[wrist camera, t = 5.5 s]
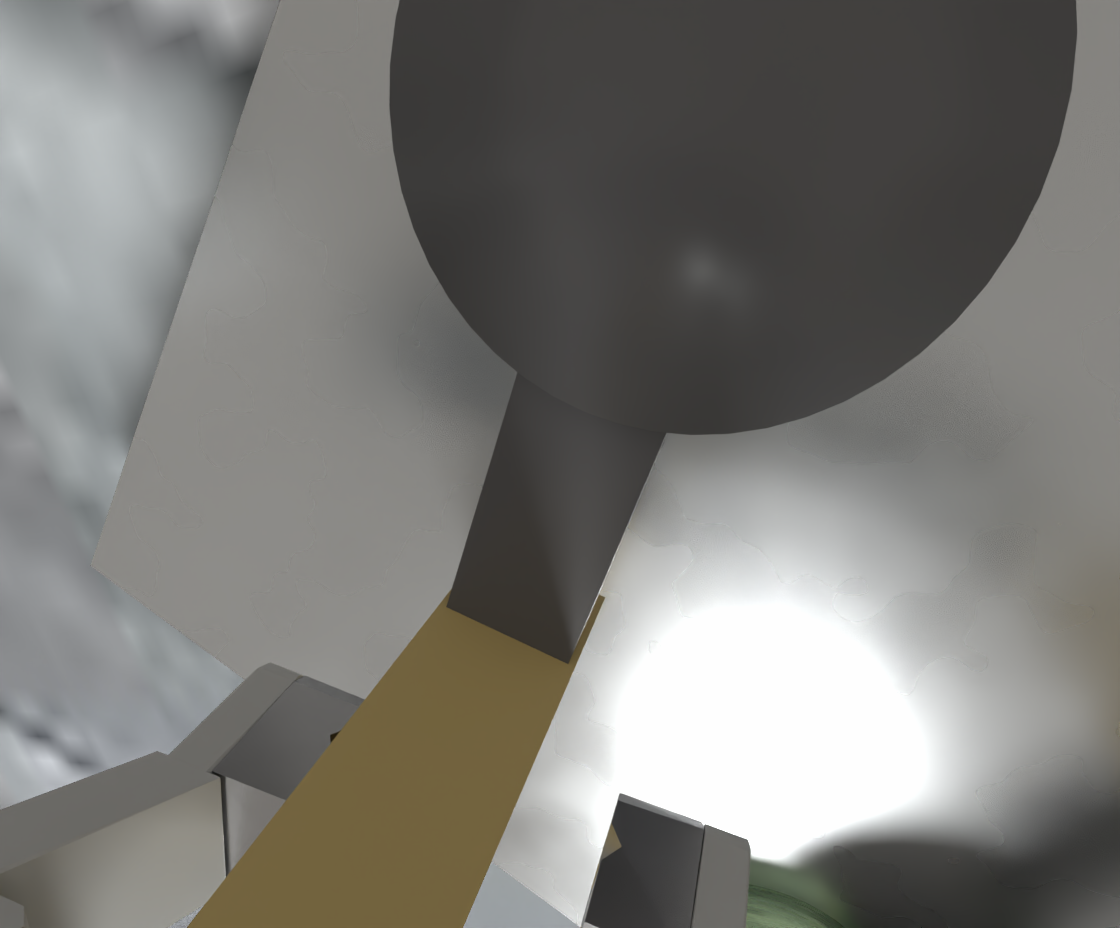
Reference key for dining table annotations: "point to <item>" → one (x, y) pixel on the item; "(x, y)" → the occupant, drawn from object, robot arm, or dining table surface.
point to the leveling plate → (676, 531)
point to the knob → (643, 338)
